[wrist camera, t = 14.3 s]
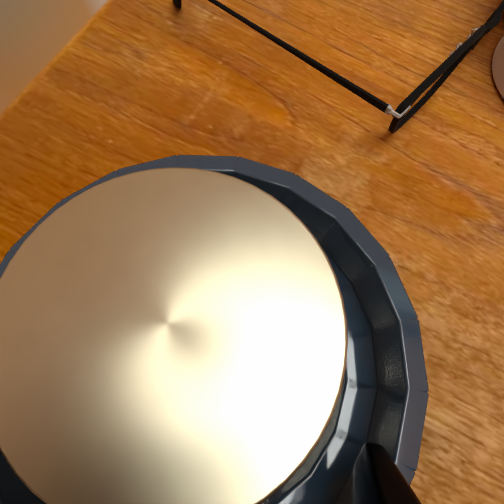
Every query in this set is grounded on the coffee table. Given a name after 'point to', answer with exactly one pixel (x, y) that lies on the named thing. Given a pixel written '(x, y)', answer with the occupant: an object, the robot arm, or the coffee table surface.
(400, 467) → the bowl
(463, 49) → the eyeglasses
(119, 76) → the coffee table surface
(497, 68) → the mug
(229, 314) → the tea tin
